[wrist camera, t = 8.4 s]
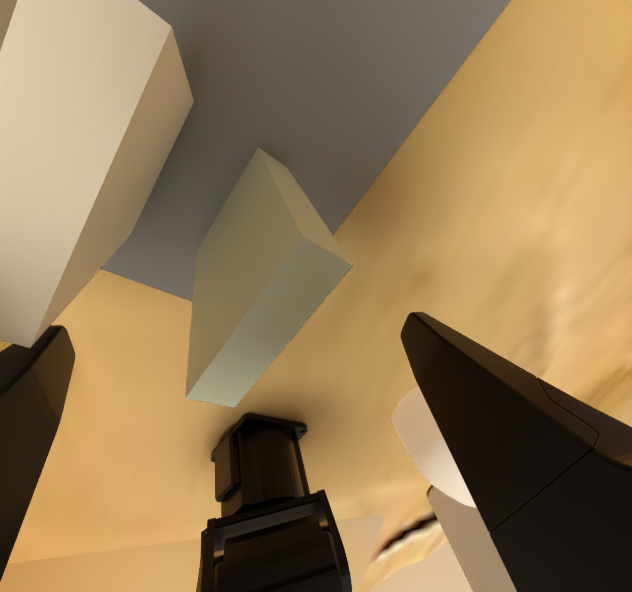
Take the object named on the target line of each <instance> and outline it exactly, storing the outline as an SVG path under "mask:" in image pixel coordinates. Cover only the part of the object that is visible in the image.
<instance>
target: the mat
mask: <svg viewBox="0 0 632 592" xmlns="http://www.w3.org/2000/svg"><path fill="white" fill-rule="evenodd" d="M139 1H140V2H141V3H142V4H144V5H145V6H146V7H147V8H149V9H150V10H151V11H153V12H154V13H155V14H156V15H158V16H159V17H160V18H161V19H163V20H164V21H165V22H167V23H168V24H169V25H170V26H172V29H173V33H174V36H175V40H176V43H177V46H178V50H179V53H180V56H181V60H182V63H183V66H184V70H185V73H186V77H187V80H188V83H189V87H190V90H191V93H192V97H193V100H194V103H193V105H192V107H191V109H190V111H189V113H188V116H187V118H186V120H185V122H184V124H183V126H182V128H181V130H180V132H179V134H178V137H177V139H176V141H175V143H174V145H173V147H172V149H171V151H170V153H169V155H168V157H167V160H166V162H165V164H164V166H163V168H162V170H161V172H160V174H159V176H158V178H157V180H156V183H155V185H154V187H153V189H152V191H151V193H150V195H149V197H148V199H147V201H146V204H145V206H144V208H143V210H142V212H141V214H140V216H139V218H138V220H137V222H136V224H135V227H134V229H133V231H132V233H131V234H130V236H129V237H128V238H127V239H126V240H125V241H124V242H123V244H122V245H121V246H120V247H119V248H118V249H117V250H116V251H115V253H114V254H113V255H112V256H111V257H110V258H109V259H108V260H107V262H106V263H105V264H104V265H103V266H102V267H101V268H100V269H103V270H106V271H108V272H111V273H114V274H117V275H120V276H122V277H125V278H128V279H131V280H134V281H136V282H139V283H142V284H145V285H148V286H150V287H153V288H156V289H159V290H162V291H164V292H167V293H170V294H173V295H176V296H178V297H181V298H184V299H187V300H190V301H192V302H193V289H194V276H195V262H196V251H197V249H198V248H199V246H200V244H201V243H202V241H203V239H204V238H205V236H206V234H207V233H208V231H209V229H210V227H211V226H212V224H213V222H214V221H215V219H216V217H217V216H218V214H219V212H220V210H221V209H222V207H223V205H224V204H225V202H226V200H227V199H228V197H229V195H230V193H231V192H232V190H233V188H234V187H235V185H236V183H237V182H238V180H239V178H240V176H241V175H242V173H243V171H244V170H245V168H246V166H247V165H248V163H249V161H250V160H251V158H252V156H253V154H254V153H255V151H256V149H257V148H258V147H259V148H260V149H262V150H263V151H264V152H266V153H267V154H269V155H270V156H271V157H273V158H274V159H276V160H277V161H278V162H280V163H281V164H283V165H284V166H285V167H287V168H288V170H289V171H290V173H291V174H292V176H293V177H294V179H295V180H296V182H297V183H298V185H299V186H300V187H301V189H302V190H303V192H304V193H305V195H306V196H307V198H308V199H309V201H310V202H311V204H312V205H313V207H314V208H315V210H316V211H317V213H318V214H319V216H320V217H321V219H322V220H323V222H324V223H325V225H326V226H327V228H328V229H329V231H330V232H331V234H332V235H333V234H334V233H335V232H336V231H337V229H338V228H339V227H340V225H341V224H342V223H343V221H344V220H345V219H346V217H347V216H348V215H349V213H350V212H351V211H352V209H353V208H354V207H355V205H356V204H357V203H358V201H359V200H360V199H361V198H362V196H363V195H364V194H365V192H366V191H367V190H368V188H369V187H370V186H371V184H372V183H373V182H374V180H375V179H376V178H377V176H378V175H379V174H380V172H381V171H382V170H383V168H384V167H385V166H386V165H387V163H388V162H389V161H390V159H391V158H392V157H393V155H394V154H395V153H396V151H397V150H398V149H399V147H400V146H401V145H402V143H403V142H404V141H405V139H406V138H407V137H408V135H409V134H410V133H411V132H412V130H413V129H414V128H415V126H416V125H417V124H418V122H419V121H420V120H421V118H422V117H423V116H424V114H425V113H426V112H427V110H428V109H429V108H430V106H431V105H432V104H433V102H434V101H435V100H436V99H437V97H438V96H439V95H440V93H441V92H442V91H443V89H444V88H445V87H446V85H447V84H448V83H449V81H450V80H451V79H452V77H453V76H454V75H455V73H456V72H457V71H458V69H459V68H460V67H461V66H462V64H463V63H464V62H465V60H466V59H467V58H468V56H469V55H470V54H471V52H472V51H473V50H474V48H475V47H476V46H477V44H478V43H479V42H480V40H481V39H482V38H483V36H484V35H485V34H486V32H487V31H488V30H489V29H490V27H491V26H492V25H493V23H494V22H495V21H496V19H497V18H498V17H499V15H500V14H501V13H502V11H503V10H504V9H505V7H506V6H507V5H508V3H509V2H510V1H511V0H139Z"/></svg>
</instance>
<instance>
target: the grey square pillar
mask: <svg viewBox="0 0 632 592" xmlns="http://www.w3.org/2000/svg"><path fill="white" fill-rule="evenodd" d="M428 498H429V502H430V504H431V506H432V508H433V510H434V512H435V514H436V516H437V518H438V520H439V523H440V525H441V527H442V529H443V531H444V533H445V535H446V537H447V539H448V541H449V543H450V545H451V547H452V549H453V551H454V553H455V555H456V557H457V559H458V561H459V564H460V565H461V567H462V570H463V571H464V574H465V576H466V578H467V580H468V582H469V584H470V586H471V588H472V590H473V592H517V591H516V589H515V587H514V585H513V583H512V581H511V578H510V576H509V574H508V572H507V570H506V568H505V566H504V564H503V562H502V560H501V558H500V556H499V553H498V551H497V549H496V547H495V545H494V543H493V541H492V539H491V537H490V535H489V532H488V530H487V528H486V526H485V524H484V522H483V520H482V518H481V515H480V513H479V511H478V509H477V508H475V507H470V506H466V505H464V504H462V503H460V502H458V501H456V500H455V499H453V498H451V497H449V496H448V495H446V494H445V493H443V492H442V491H440V490H439V489H437V488H436V487H435V486H433V487H432V488H431V490H430V492H429V495H428Z"/></svg>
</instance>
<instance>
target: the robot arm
mask: <svg viewBox="0 0 632 592" xmlns="http://www.w3.org/2000/svg"><path fill="white" fill-rule="evenodd" d="M401 340H402V343H403V346H404V349H405V352H406V354H407V357H408V360H409V363H410V365H411V368H412V371H413V374H414V376H415V379H416V381H417V384H418V386H419V388H420V390H421V392H422V394H423V397H424V399H425V401H426V403H427V405H428V407H429V409H430V411H431V413H432V415H433V417H434V420H435V422H436V424H437V426H438V428H439V430H440V432H441V434H442V436H443V438H444V440H445V442H446V445H447V447H448V449H449V451H450V453H451V455H452V457H453V459H454V461H455V463H456V465H457V467H458V470H459V472H460V474H461V476H462V478H463V480H464V482H465V484H466V486H467V488H468V490H469V493H470V495H471V497H472V499H473V501H474V503H475V505H476V507H477V509H478V511H479V513H480V515H481V518H482V520H483V522H484V524H485V526H486V528H487V530H488V532H489V535H490V537H491V539H492V541H493V543H494V545H495V547H496V549H497V551H498V553H499V556H500V558H501V560H502V562H503V564H504V566H505V568H506V570H507V572H508V574H509V576H510V578H511V581H512V583H513V585H514V587H515V589H516V591H517V592H632V427H630V426H628V425H626V424H624V423H622V422H620V421H619V420H617V419H615V418H613V417H611V416H609V415H607V414H605V413H603V412H601V411H599V410H597V409H595V408H593V407H591V406H589V405H587V404H585V403H584V402H582V401H580V400H578V399H576V398H574V397H572V396H570V395H568V394H567V393H565V392H563V391H561V390H559V389H558V388H556V387H554V386H552V385H550V384H549V383H547V382H545V381H543V380H542V379H540V378H536V376H534V375H533V374H531V373H529V372H527V371H526V370H524V369H522V368H520V367H519V366H517V365H515V364H513V363H512V362H510V361H508V360H506V359H505V358H503V357H501V356H499V355H498V354H496V353H494V352H492V351H491V350H489V349H487V348H485V347H484V346H482V345H480V344H478V343H476V342H475V341H473V340H471V339H469V338H468V337H466V336H464V335H462V334H461V333H459V332H457V331H455V330H454V329H452V328H450V327H448V326H447V325H445V324H443V323H441V322H440V321H438V320H436V319H434V318H433V317H431V316H429V315H427V314H426V313H423V312H412V313H410V314H409V315H408V317H407V319H406V321H405V324H404V326H403V329H402V331H401ZM74 362H75V351H74V348H73V345H72V343H71V340H70V337H69V335H68V332H67V330H66V328H65V327H64V326H61V325H52V326H49V327H48V328H47V330H46V331H45V332H44V333H43V334H42V335H41V336H40V337H39V339H38V340H37V341H36V342H35V343H34V344H33V345H32V347H31V348H28V347H24V346H21V345H17V344H12V345H10V346H9V347H7V348H6V349H4V350H3V351H1V352H0V581H1V579H2V576H3V573H4V570H5V568H6V565H7V563H8V560H9V557H10V555H11V552H12V549H13V547H14V544H15V541H16V539H17V536H18V533H19V531H20V528H21V525H22V523H23V520H24V517H25V515H26V512H27V509H28V507H29V504H30V501H31V499H32V496H33V493H34V491H35V488H36V486H37V483H38V480H39V478H40V475H41V472H42V470H43V467H44V464H45V462H46V459H47V456H48V454H49V451H50V448H51V446H52V443H53V440H54V438H55V435H56V432H57V429H58V426H59V424H60V420H61V416H62V413H63V409H64V404H65V400H66V396H67V392H68V387H69V383H70V379H71V375H72V370H73V366H74ZM307 431H308V429H307V426H306V425H305V424H300V423H295V422H289V421H284V420H279V419H273V418H268V417H262V416H257V415H251V414H249V415H245V416H244V417H243V418H242V419H241V420H240V421H239V422H238V424H237V425H236V426H235V427H234V428H233V429H232V431H231V432H230V433H229V434H228V435H227V437H226V438H225V439H224V440H223V441H222V442H221V444H220V445H219V446H218V447H217V448H216V449H215V451H214V452H213V453H212V454H211V461H212V462H215V499H216V501H217V502H221V518H218V519H216V518H212V519H208V522H207V528H206V529H205V530H204V531H202V532H201V560H200V568H199V575H198V582H197V589H196V592H352V586H351V577H350V572H349V566H348V562H347V557H346V553H345V550H344V546H343V543H342V540H341V537H340V534H339V531H338V528H337V526H336V523H335V519H334V516H333V514H332V511H331V508H330V505H329V502H328V499H327V496H326V493H325V490H324V489H323V490H319V491H317V493H313V494H310V491H309V487H308V482H307V478H306V473H305V469H304V464H303V460H302V455H301V451H300V447H299V442H298V440H299V439H300V438H301V437H302V436H303V435H304V434H305V433H306V432H307ZM223 550H224V551H223Z"/></svg>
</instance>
